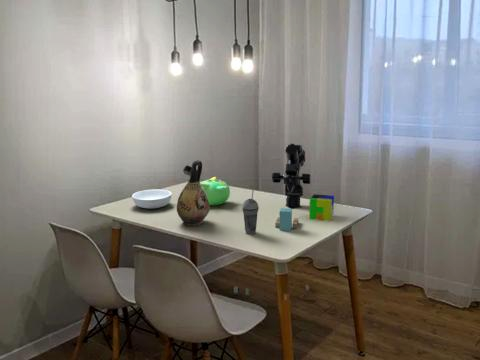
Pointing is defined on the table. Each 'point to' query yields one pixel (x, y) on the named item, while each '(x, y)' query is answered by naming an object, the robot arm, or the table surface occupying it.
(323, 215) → the puzzle toy
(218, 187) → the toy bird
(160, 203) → the serving bowl
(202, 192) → the ceramic jug
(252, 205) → the beverage cup
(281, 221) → the block
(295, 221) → the chute
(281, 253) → the table surface
